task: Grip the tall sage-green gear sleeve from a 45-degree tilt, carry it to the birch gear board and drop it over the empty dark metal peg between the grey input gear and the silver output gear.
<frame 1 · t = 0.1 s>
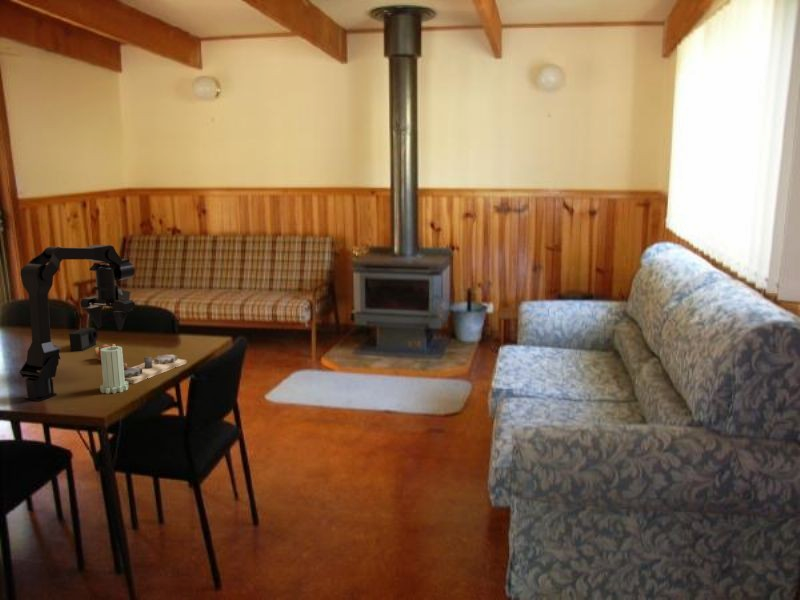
hand: (109, 328, 225), 15 cm above the table, tool pointing down, fingers open, 9 cm apart
gear sleeve: (114, 389, 209), on the table
gear board: (148, 371, 228), on the table
digital camera: (85, 348, 257), on the table
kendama: (106, 358, 244), on the table
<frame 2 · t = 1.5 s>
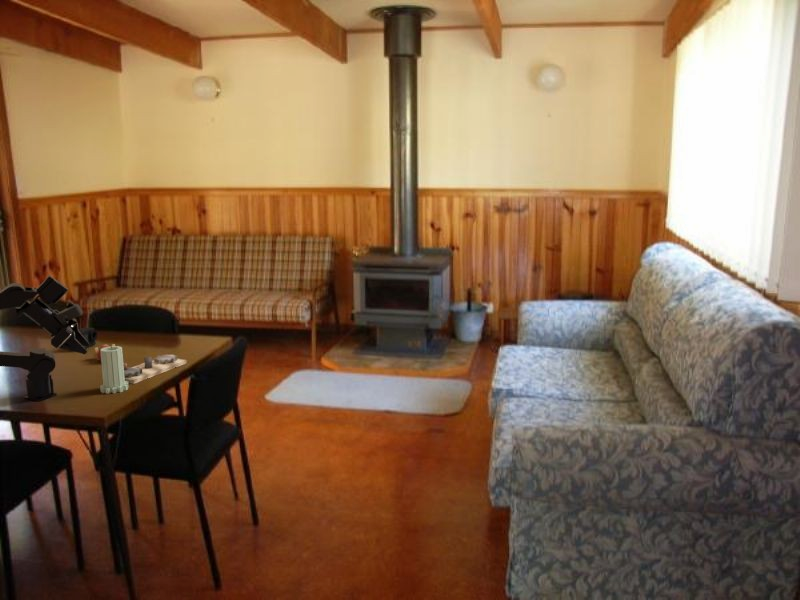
hand: (87, 349, 204), 13 cm above the table, tool tilted 45°, fingers open, 9 cm apart
nothing on the table moved.
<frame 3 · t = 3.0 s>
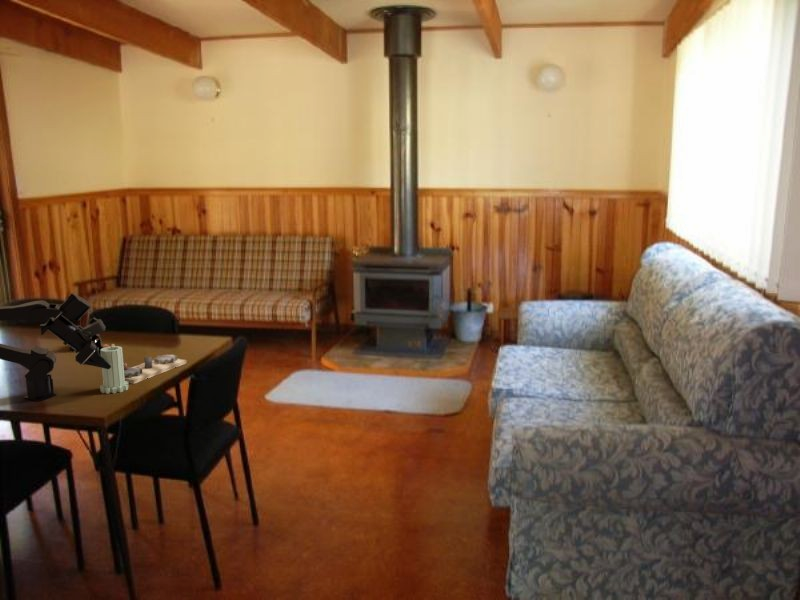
hand: (110, 363, 207), 8 cm above the table, tool tilted 45°, fingers open, 9 cm apart
nothing on the table moved.
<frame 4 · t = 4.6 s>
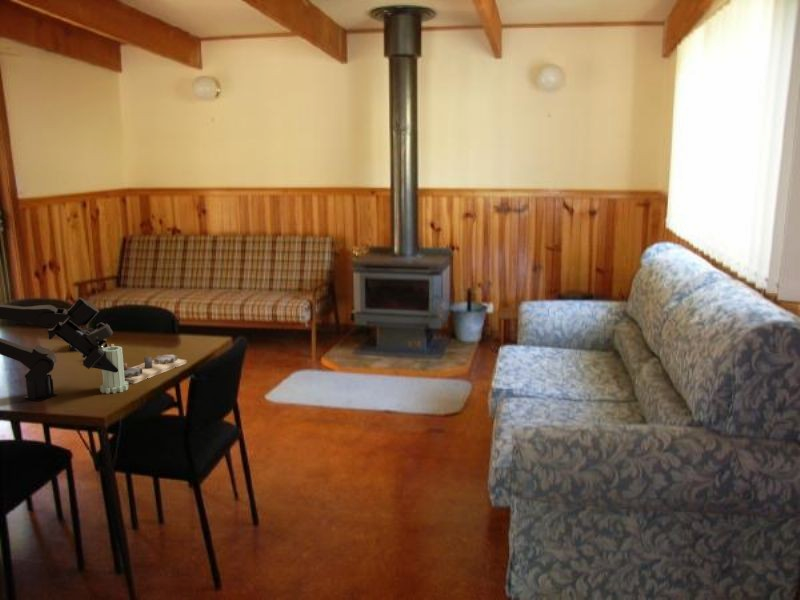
hand: (117, 368, 208), 7 cm above the table, tool tilted 45°, fingers closed on gear sleeve, 6 cm apart
gear sleeve: (114, 389, 209), on the table, touching gripper
everything else where it was.
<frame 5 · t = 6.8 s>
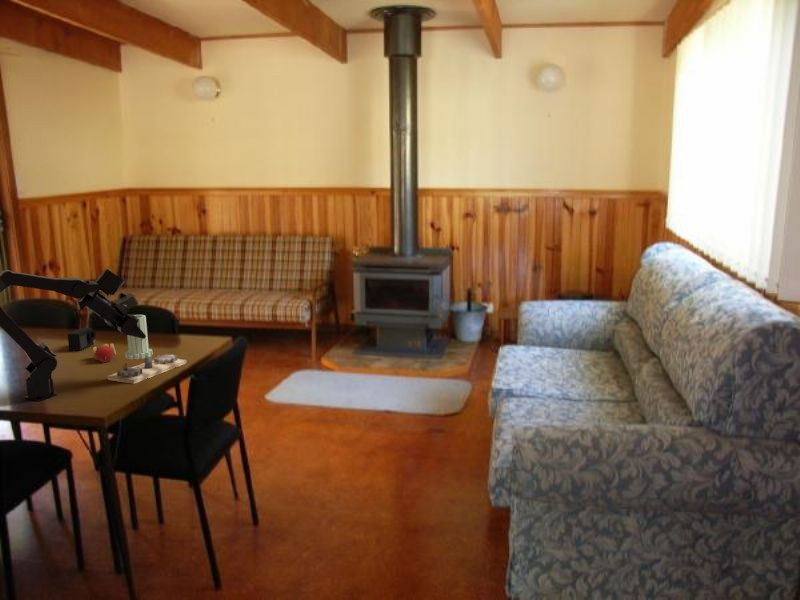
hand: (141, 335, 218), 14 cm above the table, tool tilted 45°, fingers closed on gear sleeve, 6 cm apart
gear sleeve: (139, 355, 218), point 8 cm above the table, touching gripper
when the fingers open (9 cm above the table, at t = 9.0 s): gear sleeve drops 1 cm, resting on gear board.
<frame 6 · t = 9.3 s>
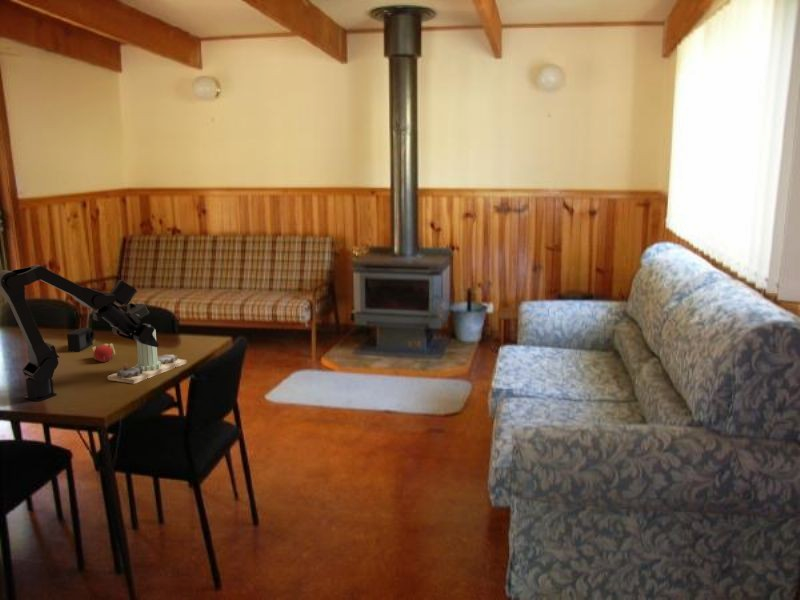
hand: (150, 343, 227), 9 cm above the table, tool tilted 45°, fingers open, 9 cm apart
gear sleeve: (148, 367, 227), point 1 cm above the table, touching gear board
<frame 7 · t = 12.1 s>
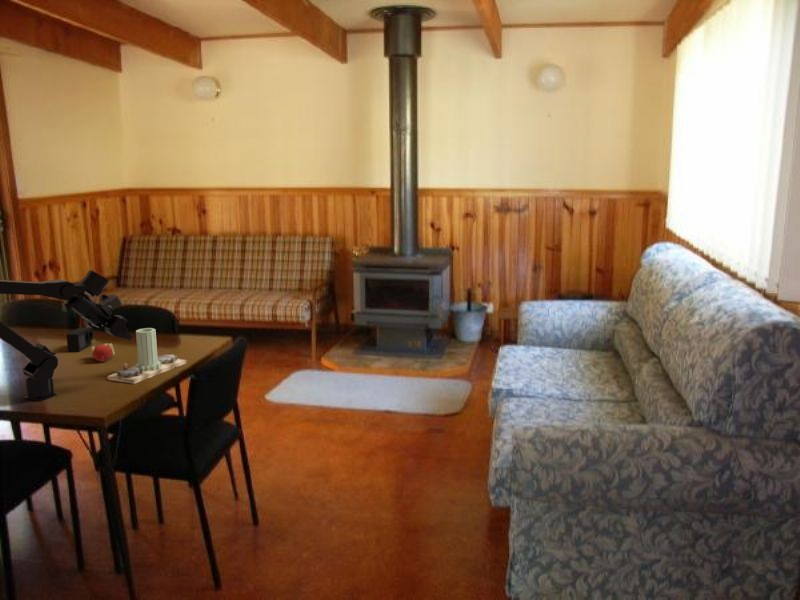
hand: (124, 336, 219), 14 cm above the table, tool tilted 45°, fingers open, 9 cm apart
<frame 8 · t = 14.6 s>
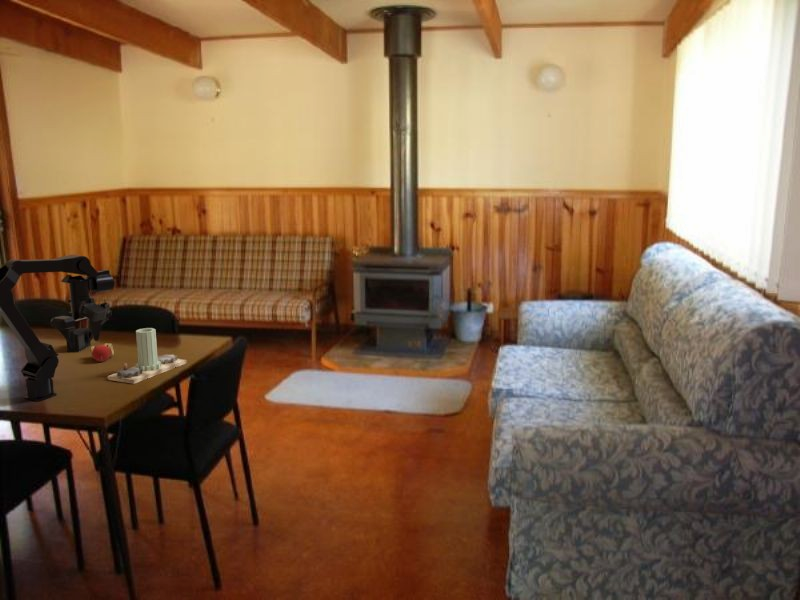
hand: (84, 344, 212), 13 cm above the table, tool pointing down, fingers open, 9 cm apart
at the end: gear sleeve 0.1 cm off-centre on the gear board, point 1.2 cm above the gear board's base; gear sleeve tilted 0°; the gripper is holding nothing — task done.
